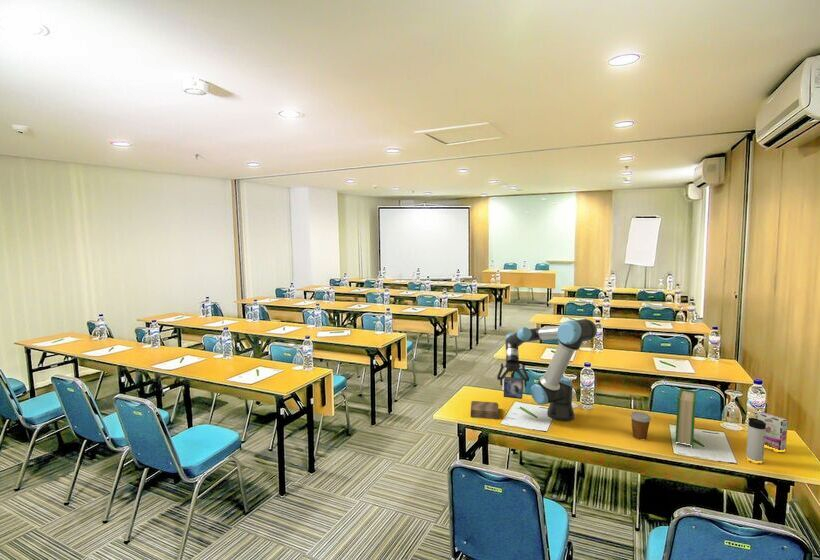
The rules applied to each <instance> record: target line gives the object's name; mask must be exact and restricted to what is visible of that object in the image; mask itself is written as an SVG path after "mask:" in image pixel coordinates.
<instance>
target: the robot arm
mask: <svg viewBox="0 0 820 560" xmlns="http://www.w3.org/2000/svg"><path fill="white" fill-rule="evenodd" d="M597 333H598V327H597V325H596V324H595V323H594V321H593V320H591V319H586V318H583V319H575V320H567V321H566V320H565V321H563V322H562V323H561V324H560V325H554V326H552V325H551V326H544V327H543V326H542V327H536V328H534V327H533V328H528V327H525V326H523V327H521V328H519V329H518V330H517V331H516V332H515V333H513V332H512V333H510V332H509V333H507V334H506V335H505V341H504V342H505V344H504V345H505V364H504V363H501V364H500V369H499V372H498V373H497V375H496V376H497V378H496V379H497V381H498V380H499V382H500V383H499V385H500V386H502V388H501V390H502V393H504V378H505V377H507V375H508V373H512V372H513V373H517V374H518V376H519V378H523V391H522V394H523V393H526V392H525V391H526V387H527V385H528V384H527V382H529V381H530V377H529V374H528V372H527V370H526V367H525V364H520V359H519V358H520V357H519V347H520V346H522V344H525V343H529V342H537V341H546V340H557V342H558V345H557V347H556V349H555V351H554V354H553V356H552V357H551V360H550V362H549V363H548V364H549V365H548V367H547V369H546V371H545V373H544V375H542V376H539V379H538V382H537V383H534V384H532V386H531V387H530V395H531V398H532V400H533V401H534V402H535V403H536V404H537V405H548V404H549V405H548V407H547V410H546V415H547V417H548V418H550V419H552V420H555V421H558V422H559V421H560V422H571V421H573V420H575V411H574V408H573V402H572V401H573V387H574V386H573V381H572V379H570V378H568V377H565V376H563V375H564V373H565V371H566V369H567V367H568V366H569V363H570V361H571V360H572V357H573V355H574V353H575V351H578V350H579V349H580V348H581V345H582V344H583V342H588V341H591V340H593V339H595V337H596V336H597ZM504 368H506V370H505V371H504ZM520 369H521V370H522V371H521V370H520ZM503 371H504V372H503ZM502 373H503V374H502Z"/></svg>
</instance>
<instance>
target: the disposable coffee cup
mask: <svg viewBox="0 0 820 560" xmlns="http://www.w3.org/2000/svg"><path fill="white" fill-rule="evenodd" d="M629 415H630V416H629V417H630V419H631V429H632V437H633V438H634V437H635V439H636V438H638V439H637V440H640V439H645V440H647V437H648V432H649V428H650V424H651V423H650V422H651V421H652V418H651V416H650V414H648V413H645V412H641V411H633V412H631V414H629Z"/></svg>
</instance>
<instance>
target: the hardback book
mask: <svg viewBox="0 0 820 560" xmlns="http://www.w3.org/2000/svg"><path fill="white" fill-rule="evenodd" d="M696 404H697V391H696V390H689V389H685V388H679V392H678V397H677V407H676V423H675V424H676V425H675V438H674V439H675V441H674V443H675V442H680V443H686V444H690V445H692V446H693V447H694V438H693V437H694V435H695V422H696V419H695V418H696Z"/></svg>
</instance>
